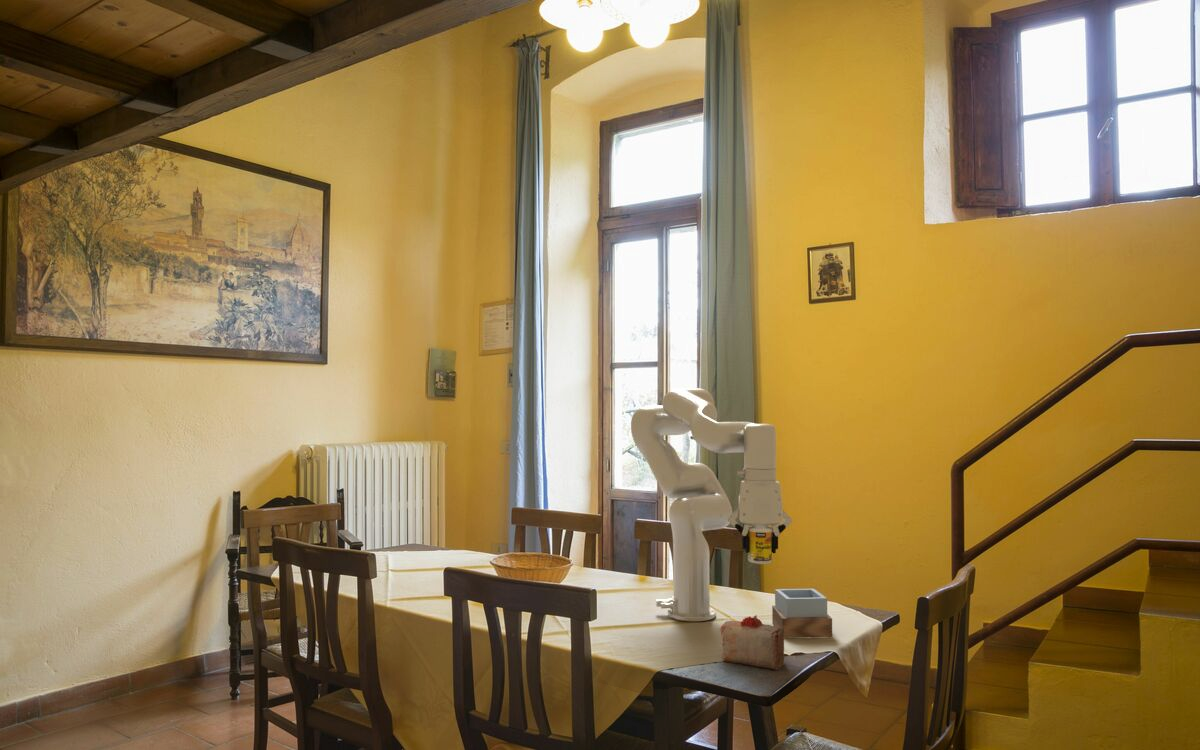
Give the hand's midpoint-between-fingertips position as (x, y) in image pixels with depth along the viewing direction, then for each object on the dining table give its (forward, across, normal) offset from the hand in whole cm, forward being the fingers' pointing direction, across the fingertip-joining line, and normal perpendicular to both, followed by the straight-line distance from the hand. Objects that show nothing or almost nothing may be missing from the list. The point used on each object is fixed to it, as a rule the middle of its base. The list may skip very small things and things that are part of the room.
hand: (760, 551), depth 193 cm
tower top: (+17, +11, +10) cm, 22 cm away
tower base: (+22, +12, +10) cm, 26 cm away
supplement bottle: (+3, 0, 0) cm, 3 cm away
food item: (+22, -4, -15) cm, 27 cm away
